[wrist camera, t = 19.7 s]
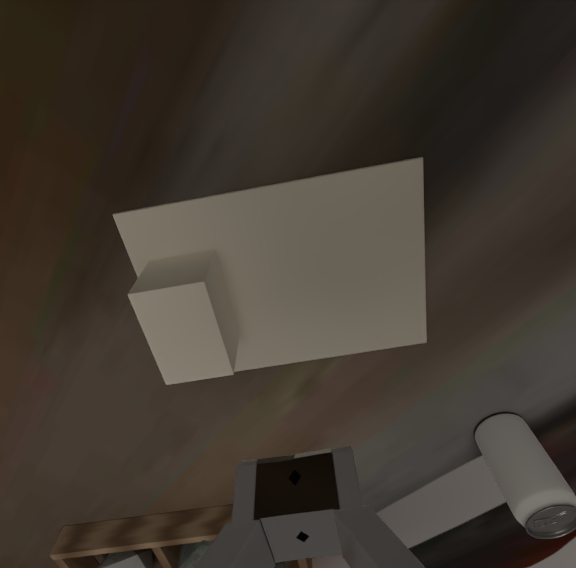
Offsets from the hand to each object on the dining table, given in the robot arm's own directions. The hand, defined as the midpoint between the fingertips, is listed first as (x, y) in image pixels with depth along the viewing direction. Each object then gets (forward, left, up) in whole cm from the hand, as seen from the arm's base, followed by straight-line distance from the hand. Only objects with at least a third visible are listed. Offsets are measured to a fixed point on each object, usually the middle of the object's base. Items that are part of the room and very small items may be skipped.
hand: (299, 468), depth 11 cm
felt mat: (+2, +10, -29) cm, 31 cm away
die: (+34, +52, -29) cm, 68 cm away
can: (-21, +36, -29) cm, 51 cm away
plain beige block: (+11, +10, -22) cm, 27 cm away
